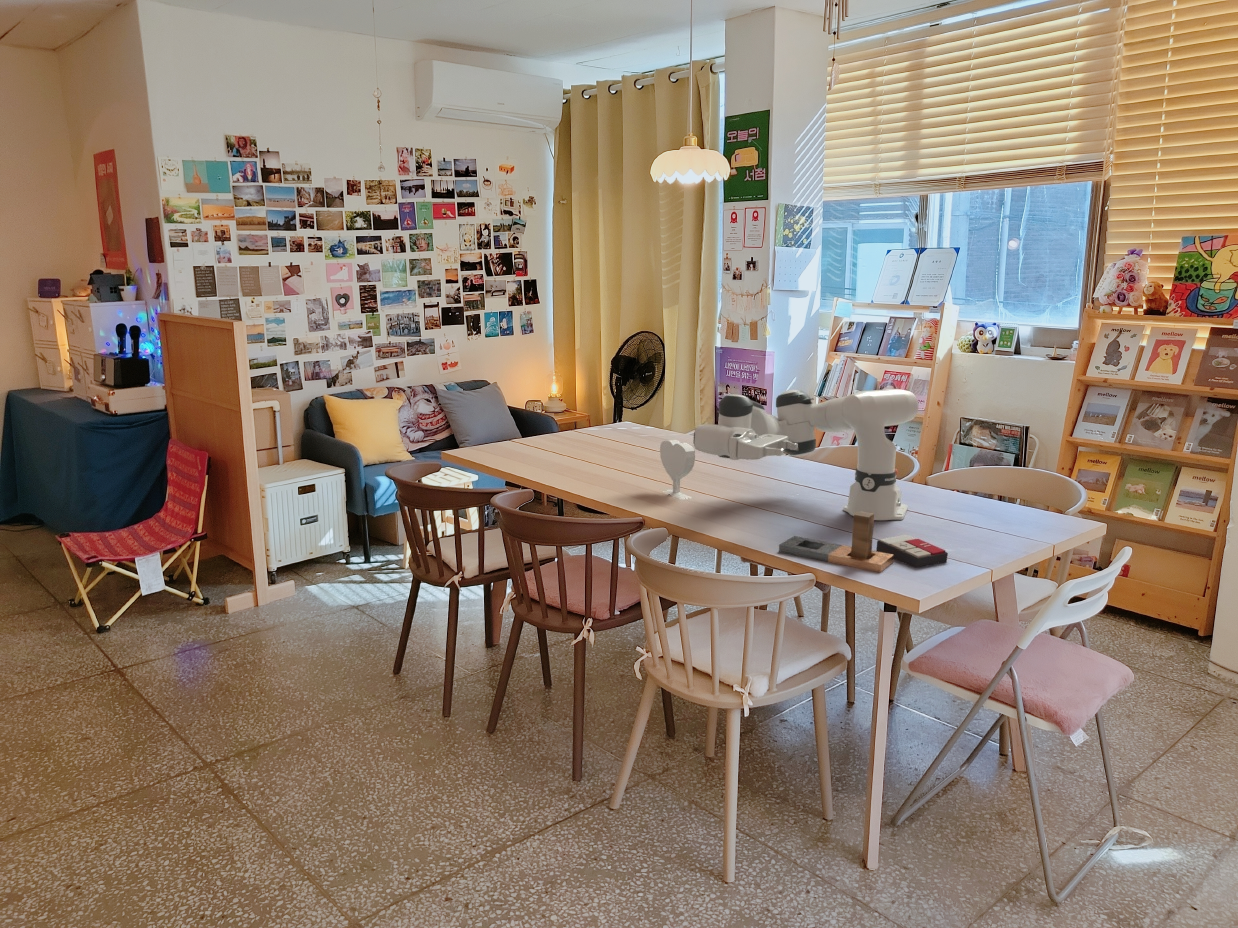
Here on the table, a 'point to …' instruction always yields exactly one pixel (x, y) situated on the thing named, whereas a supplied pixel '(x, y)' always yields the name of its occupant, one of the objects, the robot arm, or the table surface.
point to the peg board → (834, 553)
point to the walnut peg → (862, 535)
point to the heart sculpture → (677, 463)
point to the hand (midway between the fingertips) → (789, 449)
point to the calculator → (912, 551)
